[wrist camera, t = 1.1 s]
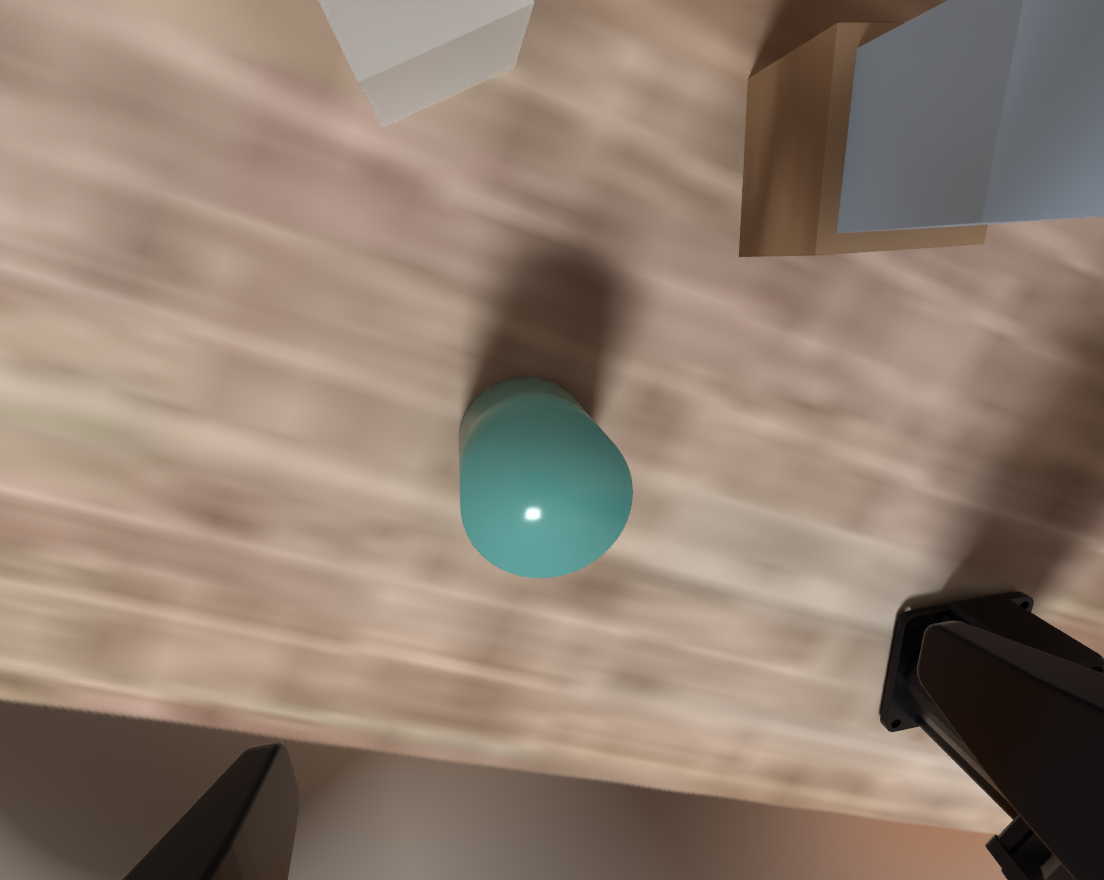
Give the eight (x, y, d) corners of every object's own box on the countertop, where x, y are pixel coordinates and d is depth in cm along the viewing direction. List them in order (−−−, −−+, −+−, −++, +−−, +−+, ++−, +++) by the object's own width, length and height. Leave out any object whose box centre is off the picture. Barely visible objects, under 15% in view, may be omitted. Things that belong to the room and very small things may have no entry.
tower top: (973, 225, 14) (1158, 212, 10) (836, 233, 14) (981, 222, 10) (1005, 47, 13) (1231, -40, 9) (857, 48, 12) (1032, -46, 9)
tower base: (874, 247, 18) (984, 243, 14) (737, 256, 17) (815, 255, 14) (897, 76, 17) (1026, 22, 13) (746, 79, 16) (837, 22, 12)
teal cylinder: (589, 491, 19) (633, 564, 14) (466, 506, 19) (470, 589, 14) (585, 370, 18) (631, 409, 13) (451, 383, 17) (450, 428, 12)
